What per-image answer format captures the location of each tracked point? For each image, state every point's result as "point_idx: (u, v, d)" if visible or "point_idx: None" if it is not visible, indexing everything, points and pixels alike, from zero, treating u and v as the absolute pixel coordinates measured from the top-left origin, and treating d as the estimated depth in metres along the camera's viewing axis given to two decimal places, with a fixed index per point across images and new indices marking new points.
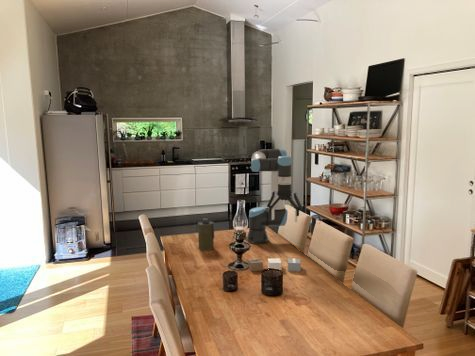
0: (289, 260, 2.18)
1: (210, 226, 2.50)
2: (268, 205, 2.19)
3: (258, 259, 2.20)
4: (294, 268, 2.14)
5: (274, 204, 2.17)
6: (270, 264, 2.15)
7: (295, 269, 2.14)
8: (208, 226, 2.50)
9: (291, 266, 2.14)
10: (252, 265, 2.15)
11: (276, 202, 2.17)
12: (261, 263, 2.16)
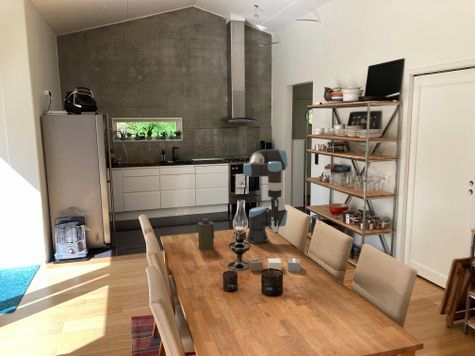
0: (289, 260, 2.18)
1: (210, 226, 2.50)
2: (271, 213, 2.20)
3: (258, 259, 2.20)
4: (294, 268, 2.14)
5: (272, 211, 2.17)
6: (270, 264, 2.14)
7: (295, 269, 2.14)
8: (208, 226, 2.50)
9: (291, 266, 2.14)
10: (252, 265, 2.15)
11: (272, 209, 2.16)
12: (261, 263, 2.16)
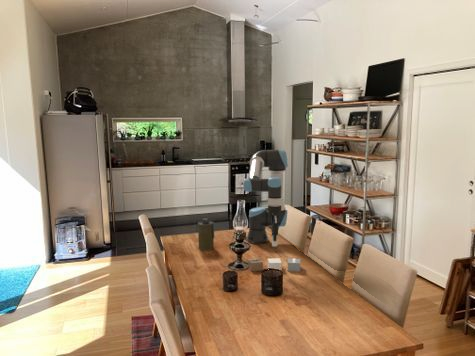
0: (289, 260, 2.18)
1: (210, 226, 2.50)
2: None
3: (258, 259, 2.20)
4: (293, 268, 2.14)
5: (272, 228, 2.16)
6: (270, 264, 2.14)
7: (295, 269, 2.14)
8: (208, 226, 2.50)
9: (291, 266, 2.14)
10: (252, 265, 2.15)
11: (272, 225, 2.15)
12: (261, 263, 2.16)
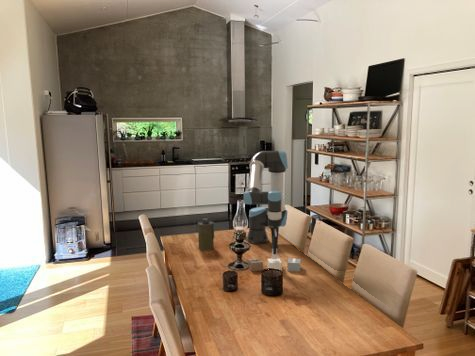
0: (289, 260, 2.18)
1: (210, 226, 2.50)
2: None
3: (258, 259, 2.20)
4: (293, 268, 2.14)
5: (272, 241, 2.17)
6: (270, 264, 2.14)
7: (295, 269, 2.14)
8: (208, 226, 2.50)
9: (291, 266, 2.14)
10: (252, 265, 2.15)
11: (272, 238, 2.17)
12: (261, 263, 2.16)
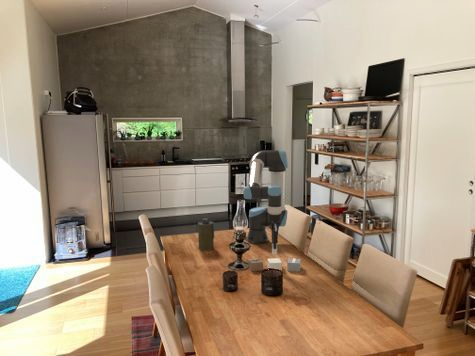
0: (289, 260, 2.18)
1: (210, 226, 2.50)
2: None
3: (258, 259, 2.20)
4: (293, 268, 2.14)
5: (272, 236, 2.17)
6: (270, 264, 2.14)
7: (294, 269, 2.14)
8: (208, 226, 2.49)
9: (290, 266, 2.14)
10: (252, 265, 2.15)
11: (272, 233, 2.16)
12: (261, 263, 2.16)
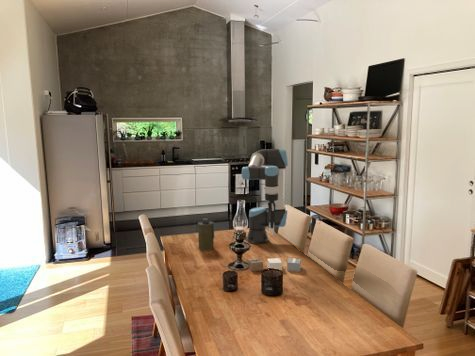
0: (289, 260, 2.18)
1: (210, 226, 2.50)
2: None
3: (258, 259, 2.20)
4: (293, 268, 2.14)
5: (269, 215, 2.21)
6: (271, 264, 2.14)
7: (294, 269, 2.14)
8: (208, 226, 2.50)
9: (290, 266, 2.14)
10: (252, 265, 2.15)
11: (269, 212, 2.21)
12: (261, 263, 2.16)
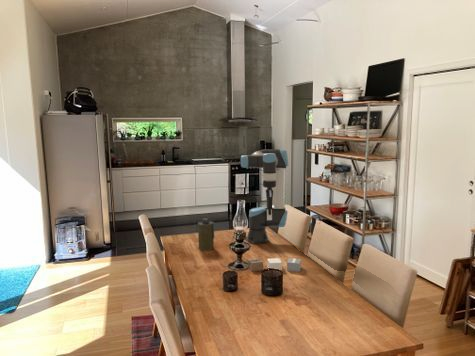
0: (289, 260, 2.18)
1: (210, 226, 2.50)
2: None
3: (258, 259, 2.20)
4: (293, 268, 2.14)
5: (267, 202, 2.23)
6: (271, 264, 2.14)
7: (294, 269, 2.14)
8: (208, 226, 2.50)
9: (290, 266, 2.15)
10: (253, 265, 2.15)
11: (267, 199, 2.23)
12: (261, 263, 2.16)
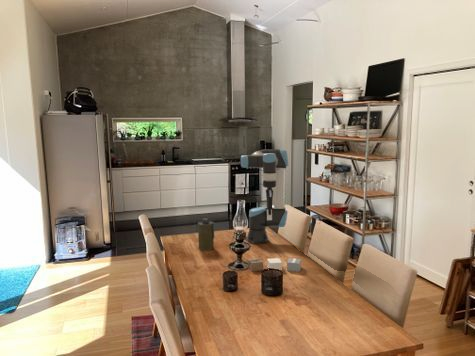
0: (289, 260, 2.18)
1: (210, 226, 2.50)
2: None
3: (258, 259, 2.20)
4: (293, 268, 2.14)
5: (267, 202, 2.23)
6: (271, 264, 2.14)
7: (294, 269, 2.14)
8: (208, 226, 2.50)
9: (290, 266, 2.15)
10: (253, 265, 2.15)
11: (267, 199, 2.23)
12: (261, 263, 2.16)
